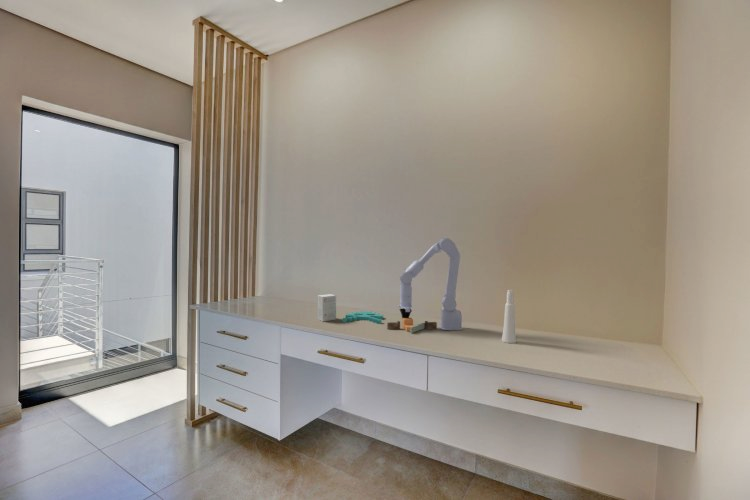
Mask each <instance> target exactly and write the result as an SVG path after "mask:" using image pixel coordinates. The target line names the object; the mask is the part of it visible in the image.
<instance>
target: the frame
mask: <svg viewBox="0 0 750 500" xmlns="http://www.w3.org/2000/svg"><path fill="white" fill-rule="evenodd" d="M424 323H425V328H424V329H425V330H430V329H431V330H435V329H438V328H437V327H438V322H436V321H427V320H425V321H424ZM386 329H387V330H401V321H400V320H398V321H396V322H392V321H391V322H389V321H388V322H387V324H386Z"/></svg>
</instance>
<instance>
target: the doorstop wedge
mask: <svg viewBox="0 0 750 500" xmlns="http://www.w3.org/2000/svg"><path fill="white" fill-rule="evenodd" d="M401 319H402V321H401V322H402V323H401V325H402V328H403V330H404V331H405V332H408V333H409V332H410V327H412V326H415V324H414V318H412V317H409V318H402V317H401Z"/></svg>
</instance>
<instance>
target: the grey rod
mask: <svg viewBox="0 0 750 500" xmlns="http://www.w3.org/2000/svg"><path fill="white" fill-rule="evenodd" d="M423 329H425V322H421V323H419V324H416V325H415V324H414V326H412V327H410V331H409V332H410V334H412V333H415V332H418V331H420V330H421V331H422V330H423Z"/></svg>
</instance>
